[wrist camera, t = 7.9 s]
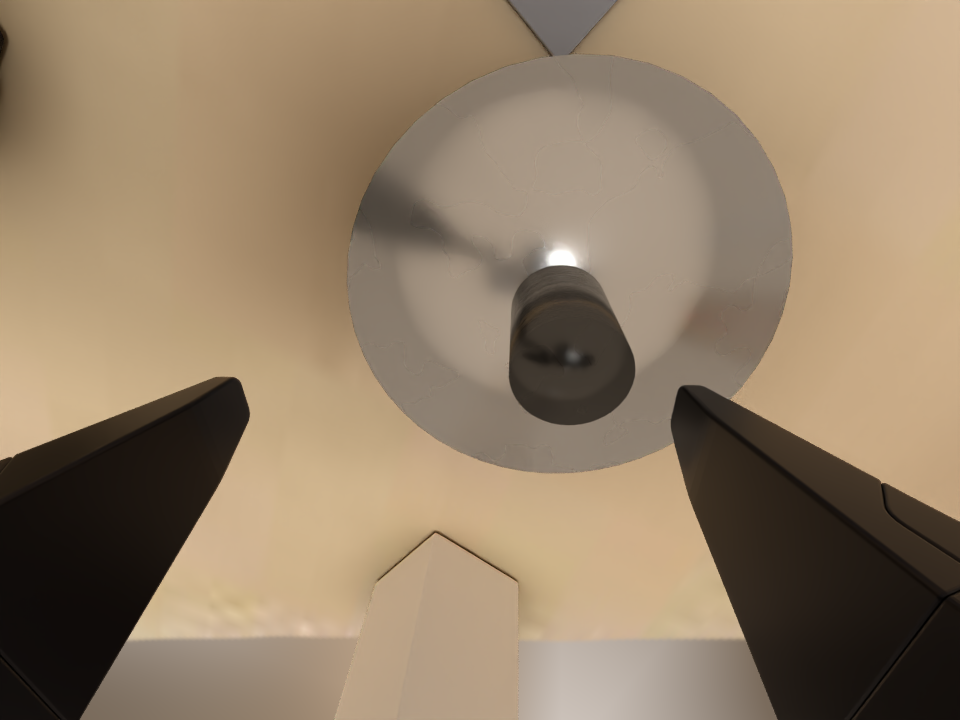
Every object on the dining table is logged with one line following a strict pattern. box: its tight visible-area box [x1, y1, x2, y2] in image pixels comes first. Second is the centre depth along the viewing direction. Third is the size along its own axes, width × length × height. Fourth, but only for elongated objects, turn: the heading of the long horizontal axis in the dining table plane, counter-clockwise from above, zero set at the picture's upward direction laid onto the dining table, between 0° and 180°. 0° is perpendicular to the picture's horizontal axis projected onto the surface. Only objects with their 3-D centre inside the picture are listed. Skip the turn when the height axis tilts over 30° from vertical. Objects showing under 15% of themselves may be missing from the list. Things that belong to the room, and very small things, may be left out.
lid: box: [347, 54, 793, 473], centre depth 13 cm, size 14×14×5 cm
